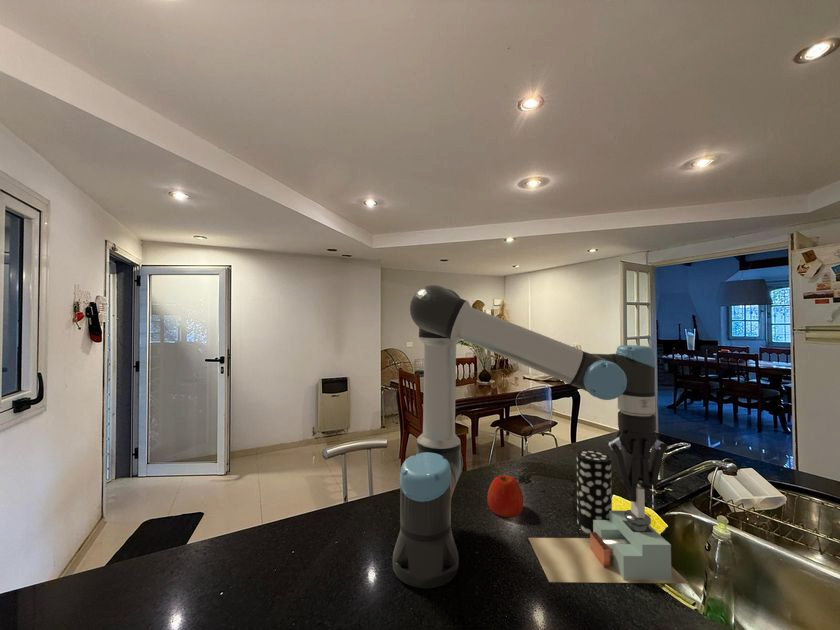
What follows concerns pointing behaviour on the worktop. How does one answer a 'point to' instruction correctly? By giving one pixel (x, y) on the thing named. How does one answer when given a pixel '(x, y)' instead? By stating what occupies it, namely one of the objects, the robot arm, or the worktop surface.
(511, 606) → the worktop surface
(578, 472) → the white-spotted black cylinder
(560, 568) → the base board
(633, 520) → the plunger
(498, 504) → the apple
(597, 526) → the block
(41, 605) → the worktop surface
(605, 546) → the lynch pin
